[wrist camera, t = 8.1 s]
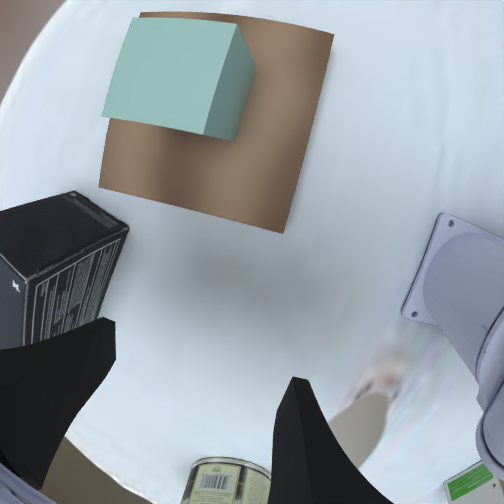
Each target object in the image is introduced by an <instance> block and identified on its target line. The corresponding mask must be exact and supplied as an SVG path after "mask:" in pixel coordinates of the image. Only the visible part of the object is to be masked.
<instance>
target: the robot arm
mask: <svg viewBox="0 0 504 504" xmlns="http://www.w3.org/2000/svg"><path fill="white" fill-rule="evenodd" d="M450 220H452V224H451V225H450V226H449V225H448V222H449V221H450ZM414 311H416V313H415V314H414V315H412V313H413V312H414ZM402 315H403V317H404V318H406V319H410V320H414V321H418V322H423V323H427V324H431V325H436V326H439V327H440V328H441V329H442V331H443V332H444V333H445V335H446V336H447V338H448V339H449V340H450V342H451V343H452V345H453V346H454V348H455V349H456V351H457V352H458V353H459V355H460V356H461V358H462V359H463V361H464V362H465V364H466V365H467V367H468V368H469V370H470V372H471V373H472V375H473V376H474V378H475V379H476V381H477V382H478V384H479V393H478V396H477V398H476V399H477V401H478V403H479V405H480V406H481V408H482V410H483V412H484V413H483V415H482V417H481V419H480V420H479V423H478V426H477V429H476V446H477V451H478V453H479V456H480V458H481V460H482V461H483V463H484V465H485V466H486V467H487V468H488V470H489V471H490V472H491V473H493V474H494V475H495V476H496V477H498V478H499V479H501V480H503V481H504V240H503V239H501V238H499V237H497V236H495V235H493V234H491V233H489V232H487V231H485V230H482V229H480V228H478V227H476V226H474V225H472V224H469V223H467V222H465V221H463V220H460V219H458V218H456V217H453V216H451V215H449V214H446V213H442V214H441V215H440V216H439V217H438V220H437V223H436V226H435V229H434V232H433V235H432V238H431V241H430V243H429V246H428V249H427V252H426V254H425V257H424V259H423V262H422V265H421V267H420V270H419V272H418V275H417V277H416V279H415V282H414V284H413V286H412V289H411V291H410V293H409V296H408V298H407V300H406V302H405V305H404V307H403V309H402ZM115 360H116V343H115V322H114V321H112V320H109V319H107V318H104V317H101V318H99V319H96V320H94V321H91V322H89V323H86V324H84V325H82V326H79V327H77V328H74V329H72V330H70V331H67V332H65V333H62V334H60V335H57V336H54V337H51V338H48V339H45V340H42V341H39V342H36V343H32V344H29V345H24V346H20V347H15V348H8V349H2V350H0V504H23V503H22V502H21V501H19V500H18V499H17V497H16V496H18V497H19V498H20V499H22V500H23V501H25V502H26V503H27V504H57V503H55V502H54V501H52V500H50V499H49V498H47V497H46V496H44V495H43V494H41V493H40V492H38V491H37V490H40V489H42V486H43V483H44V480H45V477H46V474H47V472H48V469H49V466H50V464H51V462H52V460H53V458H54V455H55V453H56V451H57V449H58V447H59V445H60V443H61V441H62V439H63V437H64V435H65V433H66V432H67V430H68V428H69V426H70V425H71V423H72V421H73V419H74V418H75V417H76V415H77V414H78V412H79V411H80V410H81V408H82V407H83V406H84V405H85V403H86V402H87V401H88V399H89V398H90V397H91V396H92V394H93V393H94V392H95V391H96V389H97V388H98V387H99V385H100V384H101V383H102V381H103V380H104V379H105V377H106V376H107V374H108V372H109V371H110V369H111V367H112V365H113V364H114V362H115ZM267 504H393V503H392V502H391V501H390V500H388V499H387V498H386V497H384V496H383V495H382V494H381V493H380V492H379V491H378V490H377V489H376V488H375V487H373V486H372V485H371V484H370V483H369V482H368V481H367V479H366V478H365V477H364V476H363V475H362V474H361V473H360V472H359V470H358V469H357V468H356V467H355V466H354V465H353V463H352V462H351V461H350V459H349V458H348V457H347V455H346V454H345V452H344V451H343V449H342V448H341V446H340V445H339V443H338V441H337V440H336V438H335V436H334V435H333V433H332V431H331V429H330V428H329V425H328V423H327V421H326V419H325V417H324V415H323V413H322V411H321V409H320V407H319V404H318V402H317V400H316V398H315V395H314V393H313V390H312V388H311V385H310V383H309V381H308V380H307V379H302V378H297V377H292V379H291V381H290V383H289V386H288V388H287V390H286V392H285V394H284V396H283V399H282V401H281V403H280V405H279V407H278V409H277V413H276V419H275V425H274V431H273V449H272V471H271V484H270V491H269V497H268V502H267Z"/></svg>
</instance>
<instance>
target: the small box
mask: <svg viewBox="0 0 504 504" xmlns="http://www.w3.org/2000/svg"><path fill="white" fill-rule="evenodd" d="M128 230H129V229H128V227H127V226H126V225H125V224H124V223H123V222H121V221H119V220H116V219H115V218H114V217H113V216H110V215H109V214H107V213H106V212H105V211H103V210H102V209H100V208H99V207H97V206H96V205H94V204H93V203H92V202H90V201H89V200H88V199H87V198H85V197H83V196H82V195H80V194H78V193H77V192H75V191H71V192H68V193H63V194H60V195H56V196H52V197H48V198H44V199H41V200H37V201H33V202H30V203H27V204H23V205H19V206H16V207H12V208H9V209H6V210H3V211H0V350H2V349H8V348H15V347H20V346H24V345H29V344H32V343H36V342H39V341H42V340H45V339H48V338H51V337H54V336H57V335H60V334H62V333H65V332H67V331H70V330H72V329H74V328H77V327H79V326H82V325H84V324H86V323H89V322H91V321H94V320H96V319H97V316H98V314H99V310H100V307H101V304H102V301H103V298H104V295H105V292H106V289H107V286H108V283H109V280H110V278H111V275H112V272H113V269H114V266H115V264H116V261H117V258H118V256H119V253H120V250H121V248H122V245H123V242H124V240H125V237H126V234H127V232H128Z"/></svg>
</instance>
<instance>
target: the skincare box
mask: <svg viewBox="0 0 504 504" xmlns="http://www.w3.org/2000/svg"><path fill="white" fill-rule="evenodd" d="M444 487H445V490H446V494H447V498H448V502H449V504H504V494H503V491H502V488H501V485H500V482H499V479H498V477H496V476H495V475H494V474H493V473H491V472H490V471H489V470H488V468H487V467H486V466H485V465H484V463H483V461H480V462H479V463H477V464H475V465H474V466H472V467H470V468H469V469H467V470H465V471H463V472H461V473H460V474H458V475H456V476H454V477H452V478H450V479H448V480H446V481H444Z"/></svg>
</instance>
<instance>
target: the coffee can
mask: <svg viewBox="0 0 504 504" xmlns="http://www.w3.org/2000/svg"><path fill="white" fill-rule="evenodd" d="M270 484H271V474H270V473H269V472H268V471H266V470H265V469H264V468H262V467H260V466H257V465H255V464H253V463H250V462H246V461H243V460H239V459H234V458H223V457H213V458H206V459H201V460H199V461H197V462H195V463H194V464H193V465H192V468H191V473H190V476H189V479H188V482H187V485H186V489H185V491H184V494H183V498H182V501H181V504H267V502H268V497H269V491H270Z"/></svg>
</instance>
